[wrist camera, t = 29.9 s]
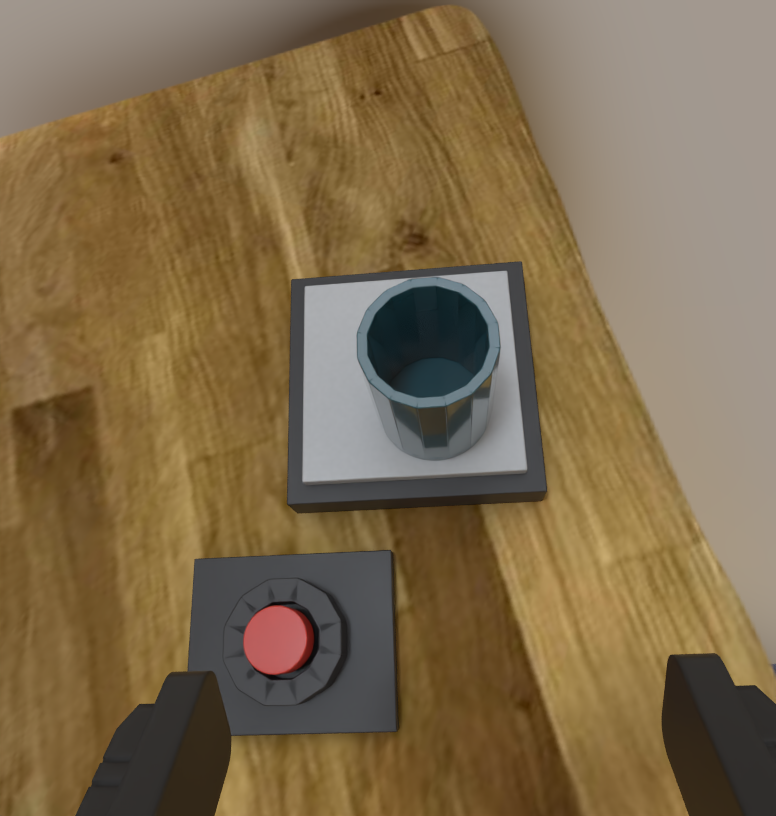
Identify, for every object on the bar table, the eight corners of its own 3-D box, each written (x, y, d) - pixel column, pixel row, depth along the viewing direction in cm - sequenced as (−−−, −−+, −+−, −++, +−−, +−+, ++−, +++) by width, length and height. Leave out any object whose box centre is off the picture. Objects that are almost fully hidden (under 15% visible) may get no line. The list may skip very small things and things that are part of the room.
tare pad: (393, 552, 39) (387, 545, 36) (398, 729, 36) (393, 735, 33) (201, 561, 40) (182, 554, 37) (191, 734, 37) (169, 741, 34)
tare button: (314, 606, 36) (307, 603, 34) (314, 672, 34) (307, 673, 33) (253, 608, 36) (244, 606, 34) (251, 674, 35) (241, 675, 33)
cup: (486, 350, 39) (493, 271, 31) (496, 457, 37) (506, 402, 29) (376, 358, 39) (355, 282, 31) (379, 464, 37) (357, 412, 29)
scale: (518, 282, 44) (523, 253, 40) (542, 501, 39) (549, 487, 36) (299, 298, 45) (288, 272, 42) (297, 513, 40) (283, 501, 37)
